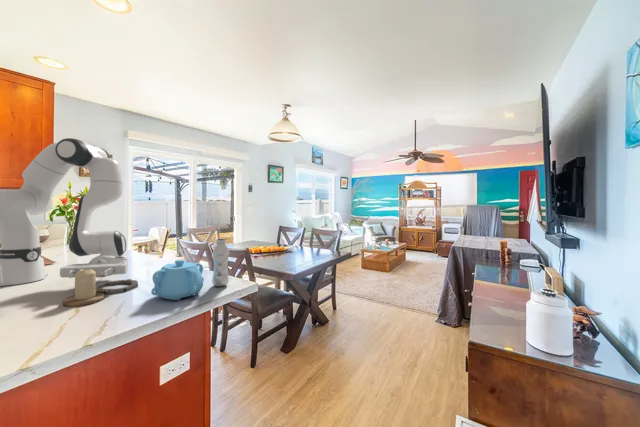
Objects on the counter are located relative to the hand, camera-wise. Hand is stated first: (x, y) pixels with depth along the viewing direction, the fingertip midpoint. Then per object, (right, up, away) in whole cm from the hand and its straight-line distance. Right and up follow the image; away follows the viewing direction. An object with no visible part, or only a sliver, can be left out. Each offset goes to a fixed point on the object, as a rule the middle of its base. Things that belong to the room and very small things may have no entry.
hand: (87, 274), depth 96 cm
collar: (+1, -8, +11) cm, 14 cm away
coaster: (+1, -9, -3) cm, 9 cm away
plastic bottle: (+42, -9, +18) cm, 46 cm away
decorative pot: (+31, -9, +5) cm, 33 cm away
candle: (+2, -8, -2) cm, 8 cm away
